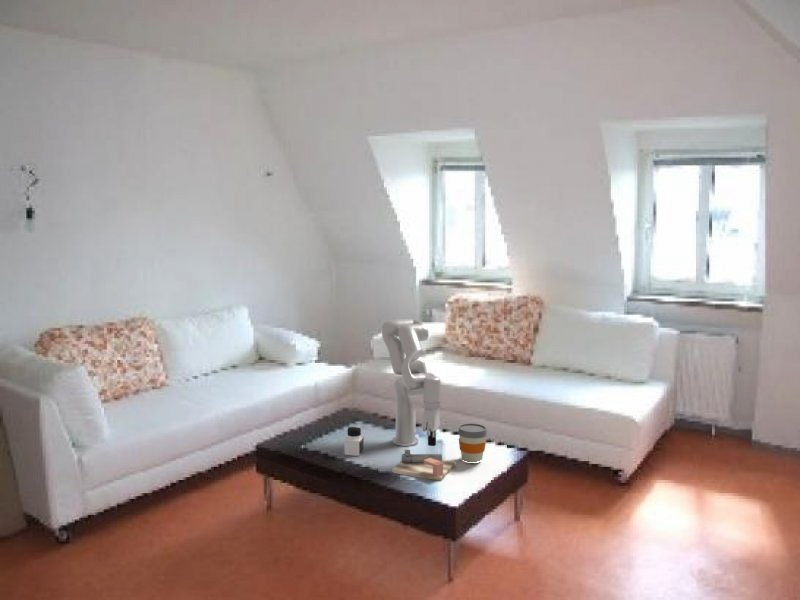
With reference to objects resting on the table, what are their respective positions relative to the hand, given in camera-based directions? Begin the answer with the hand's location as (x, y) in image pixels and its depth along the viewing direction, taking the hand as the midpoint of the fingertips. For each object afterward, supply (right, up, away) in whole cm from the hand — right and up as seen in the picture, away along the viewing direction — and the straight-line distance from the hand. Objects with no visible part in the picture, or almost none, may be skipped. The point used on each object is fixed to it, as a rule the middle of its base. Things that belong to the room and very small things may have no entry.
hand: (431, 445), depth 290 cm
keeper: (0, -8, -17) cm, 18 cm away
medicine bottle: (-35, -6, +10) cm, 37 cm away
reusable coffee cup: (+18, -7, +2) cm, 19 cm away
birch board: (-4, -8, -8) cm, 12 cm away
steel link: (-5, -6, -5) cm, 9 cm away
